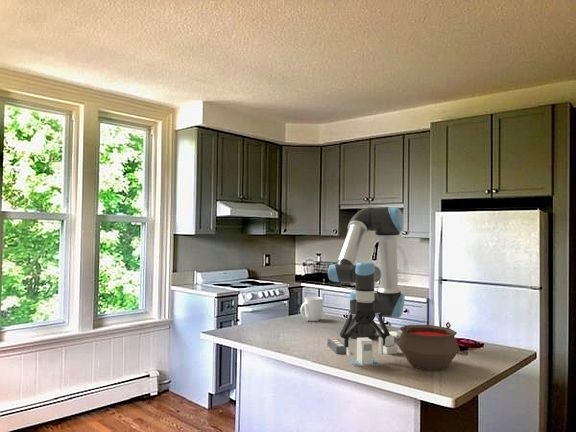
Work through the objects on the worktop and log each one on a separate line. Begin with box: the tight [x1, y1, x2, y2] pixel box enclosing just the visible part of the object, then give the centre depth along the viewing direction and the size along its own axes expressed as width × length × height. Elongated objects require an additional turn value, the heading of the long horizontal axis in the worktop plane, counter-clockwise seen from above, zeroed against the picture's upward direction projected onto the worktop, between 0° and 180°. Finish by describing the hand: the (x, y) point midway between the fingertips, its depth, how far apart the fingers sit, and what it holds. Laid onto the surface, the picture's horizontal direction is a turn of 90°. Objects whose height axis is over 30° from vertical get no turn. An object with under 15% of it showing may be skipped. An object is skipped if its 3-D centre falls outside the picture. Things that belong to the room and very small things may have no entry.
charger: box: [356, 337, 374, 365], centre depth 181 cm, size 4×7×9 cm, turn 11°
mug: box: [299, 296, 324, 322], centre depth 267 cm, size 15×11×13 cm
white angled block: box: [380, 328, 398, 355], centre depth 196 cm, size 4×10×9 cm, turn 118°
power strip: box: [326, 337, 347, 355], centre depth 203 cm, size 5×20×4 cm, turn 11°
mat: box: [346, 357, 384, 367], centre depth 180 cm, size 12×9×1 cm
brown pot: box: [396, 321, 461, 371], centre depth 179 cm, size 24×24×16 cm
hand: (364, 354), depth 181 cm, fingers open, 13 cm apart
